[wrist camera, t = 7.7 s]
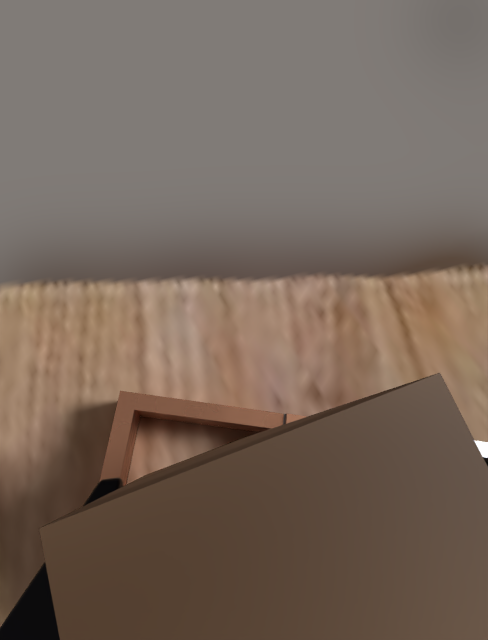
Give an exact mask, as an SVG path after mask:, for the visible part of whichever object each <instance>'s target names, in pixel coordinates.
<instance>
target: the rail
mask: <svg viewBox="0 0 488 640" xmlns="http://www.w3.org/2000/svg"><path fill="white" fill-rule="evenodd" d="M140 416H142V417H150V418H157V419H165V420H172V421H180V422H187V423H195V424H202V425H209V426H217V427H224V428H232V429H239V430H247V431H254V432H263V431H266V430H269V429H272V428H275V427H278V426H281V425H284V424H287V423H290V422H293V421H296V420H299V419H302V418H305V417H307V416H299V415H292V414H281V413H274V412H267V411H260V410H253V409H246V408H238V407H231V406H224V405H217V404H210V403H203V402H196V401H189V400H182V399H174V398H167V397H160V396H153V395H146V394H139V393H132V392H125V391H120V394H119V398H118V403H117V407H116V411H115V416H114V420H113V424H112V429H111V433H110V438H109V442H108V446H107V451H106V455H105V459H104V464H103V468H102V472H101V477H100V481H101V480H103V479H109V478H118V477H119V478H121V479H122V481H123V486H125V485H126V483H127V478H128V473H129V469H130V464H131V459H132V454H133V449H134V444H135V440H136V435H137V430H138V425H139V420H140ZM475 443H476V445H477V447H478V449H479V451H480V452H481V454H482V456H483V458H484V460H485V462H486V464H487V466H488V443H487V442H480V441H475ZM100 481H99V482H100Z"/></svg>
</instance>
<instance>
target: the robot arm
mask: <svg viewBox="0 0 488 640" xmlns="http://www.w3.org/2000/svg"><path fill="white" fill-rule="evenodd" d="M121 487H123V481H122V479H121V478H119V477H118V478H109V479H103V480H101V481H100V482H99V483H98V485H97V486H96V488H95V489H94V490H93V492H92V493H91V495H90V496H89V498H88V499H87V501H86V502H85V504H84V505H83V506H85V505H87V504H89V503H91V502H93V501H95V500H97V499H99V498H101V497H103V496H105V495H107V494H109V493H111V492H113V491H115V490H117V489H119V488H121ZM0 640H60V637H59V632H58V626H57V621H56V616H55V611H54V605H53V600H52V595H51V589H50V584H49V579H48V574H47V568H46V563H44V564H43V565H42V567H41V568H40V570H39V571H38V573H37V574H36V576H35V577H34V579H33V580H32V582H31V583H30V585H29V586H28V588H27V589H26V590H25V592H24V593H23V595H22V596H21V598H20V599H19V601H18V602H17V604H16V605H15V607H14V608H13V610H12V611H11V613H10V614H9V615H8V617H7V618H6V620H5V621H4V623H3V624H2V626H1V627H0Z"/></svg>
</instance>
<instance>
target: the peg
mask: <svg viewBox="0 0 488 640" xmlns="http://www.w3.org/2000/svg"><path fill="white" fill-rule="evenodd" d="M39 531H40V537H41V542H42V547H43V552H44V558H45V563H46V568H47V574H48V579H49V584H50V589H51V595H52V600H53V605H54V611H55V616H56V621H57V626H58V632H59V637H60V640H488V466H487V464H486V462H485V460H484V458H483V456H482V454H481V452H480V451H479V449H478V447H477V445H476V443H475V441H474V439H473V437H472V435H471V433H470V431H469V429H468V427H467V425H466V423H465V421H464V419H463V417H462V415H461V413H460V411H459V409H458V407H457V405H456V403H455V401H454V399H453V397H452V395H451V393H450V392H449V390H448V388H447V386H446V384H445V382H444V380H443V378H442V376H441V374H440V373H438V374H435V375H432V376H429V377H426V378H423V379H420V380H417V381H414V382H411V383H408V384H405V385H402V386H399V387H396V388H393V389H389V390H386V391H383V392H380V393H377V394H374V395H371V396H368V397H365V398H362V399H359V400H356V401H353V402H350V403H347V404H344V405H341V406H338V407H335V408H332V409H329V410H326V411H323V412H320V413H317V414H314V415H311V416H308V417H305V418H302V419H299V420H296V421H293V422H290V423H287V424H284V425H281V426H278V427H275V428H272V429H269V430H266V431H263V432H260V433H257V434H254V435H251V436H248V437H245V438H242V439H240V440H237V441H234V442H232V443H229V444H226V445H224V446H221V447H219V448H216V449H213V450H211V451H208V452H205V453H203V454H200V455H197V456H195V457H192V458H190V459H187V460H184V461H182V462H179V463H176V464H174V465H171V466H169V467H166V468H163V469H161V470H158V471H155V472H153V473H150V474H148V475H145V476H143V477H141V478H139V479H137V480H135V481H133V482H131V483H129V484H127V485H125V486H123V487H121V488H119V489H117V490H115V491H113V492H111V493H109V494H107V495H105V496H103V497H101V498H99V499H97V500H95V501H93V502H91V503H89V504H87V505H85V506H83V507H81V508H79V509H77V510H75V511H73V512H71V513H69V514H67V515H65V516H63V517H61V518H59V519H57V520H55V521H53V522H51V523H49V524H47V525H45V526H43V527H41V528H39Z"/></svg>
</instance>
